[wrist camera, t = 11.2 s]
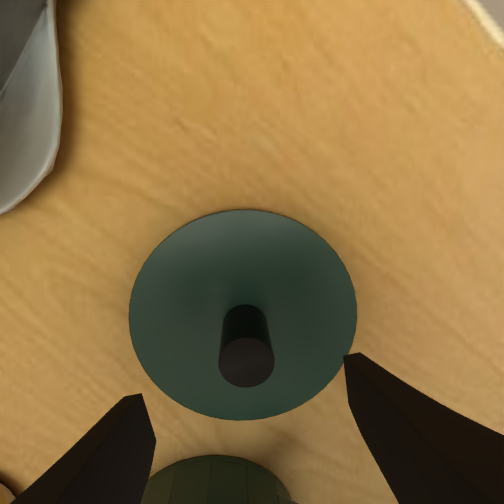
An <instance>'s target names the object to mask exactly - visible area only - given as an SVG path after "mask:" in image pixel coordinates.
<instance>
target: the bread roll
mask: <svg viewBox="0 0 504 504" xmlns="http://www.w3.org/2000/svg"><path fill="white" fill-rule="evenodd" d="M14 499H16V497H15V496H14V495H13V494H12V493H11V491H10V490H9V489H8V488H7V487H5V486H4V485H3V484H1V483H0V504H10V503H11V502H12V501H13V500H14Z"/></svg>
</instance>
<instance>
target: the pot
mask: <svg viewBox="0 0 504 504" xmlns="http://www.w3.org/2000/svg"><path fill="white" fill-rule="evenodd" d="M141 504H298V503H296V502H294V501H292V499H291V497H290V495H289V493H288V491H287V490H286V488H285V487H284V485H283V484H282V483H281V482H280V481H279V480H278V478H277V477H275V476H274V475H273V474H272V473H271V472H269V471H268V470H266V469H264V468H263V467H261V466H259V465H257V464H255V463H253V462H250V461H247V460H244V459H241V458H235V457H230V456H219V455H216V456H201V457H194V458H190V459H186V460H183V461H180V462H177V463H175V464H172V465H170V466H168V467H166V468H164V469H163V470H161V471H160V472H158V473H157V474H155V475H154V476H153V477H152V478H151V479H150V480H148V482H147V485H146V488H145V491H144V495H143V498H142V501H141Z"/></svg>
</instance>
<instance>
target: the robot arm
mask: <svg viewBox="0 0 504 504" xmlns="http://www.w3.org/2000/svg"><path fill="white" fill-rule="evenodd" d="M343 360H344V369H345V377H346V386H347V394H348V403H349V406H350V409H351V411H352V414H353V416H354V419H355V421H356V423H357V426H358V428H359V430H360V433H361V435H362V437H363V439H364V441H365V442H366V444H367V446H368V448H369V450H370V452H371V453H372V455H373V457H374V459H375V461H376V463H377V464H378V466H379V468H380V470H381V472H382V473H383V475H384V477H385V479H386V481H387V483H388V484H389V486H390V488H391V490H392V492H393V493H394V495H395V497H396V499H397V501H398V503H399V504H504V435H502V434H500V433H498V432H495V431H493V430H491V429H489V428H487V427H485V426H483V425H481V424H479V423H477V422H475V421H473V420H471V419H469V418H467V417H465V416H463V415H461V414H459V413H457V412H455V411H453V410H451V409H449V408H447V407H446V406H444V405H442V404H440V403H439V402H437V401H435V400H433V399H432V398H430V397H428V396H426V395H425V394H423V393H421V392H420V391H418V390H416V389H415V388H413V387H411V386H410V385H408V384H407V383H405V382H404V381H402V380H400V379H399V378H397V377H396V376H394V375H393V374H391V373H390V372H388V371H387V370H385V369H384V368H382V367H381V366H379V365H378V364H376V363H375V362H374V361H372V360H371V359H369V358H368V357H366V356H365V355H363V354H362V353H360V352H359V353H354V354H349V355H343ZM155 445H156V438H155V435H154V431H153V428H152V425H151V422H150V419H149V415H148V412H147V409H146V406H145V403H144V399H143V396H142V393H140V394H135V395H130V396H125V397H123V398H122V399H121V400H120V401H119V402H118V403H117V404H116V405H115V406H114V407H112V408H111V409H110V410H109V411H108V412H107V413H106V414H105V415H104V416H103V417H102V418H101V419H100V420H99V421H98V422H97V423H96V424H95V425H94V426H93V427H92V428H91V429H90V430H89V431H88V432H87V433H86V434H85V435H84V436H83V437H82V438H81V439H80V440H79V441H78V442H77V443H76V444H75V445H74V446H73V447H72V448H71V449H70V450H69V451H68V452H67V453H65V454H64V455H63V456H62V457H61V458H60V459H59V460H58V461H57V462H56V463H55V464H54V465H52V466H51V467H50V468H49V469H48V470H47V471H46V472H45V473H44V474H43V475H42V476H41V477H40V478H38V479H37V480H36V481H35V482H34V483H33V484H32V485H31V486H30V487H28V488H27V489H26V490H25V491H24V492H23V493H21V494H20V495H19V496H18V497H17V498H16V499H14V500H13V501H12V502H11V503H10V504H141V501H142V498H143V495H144V491H145V488H146V485H147V482H148V478H149V475H150V471H151V466H152V461H153V456H154V451H155Z"/></svg>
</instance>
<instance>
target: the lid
mask: <svg viewBox="0 0 504 504" xmlns="http://www.w3.org/2000/svg"><path fill="white" fill-rule="evenodd" d="M356 322H357V303H356V297H355V291H354V288H353V285H352V281H351V278H350V276H349V274H348V272H347V270H346V268H345V266H344V264H343V262H342V261H341V259H340V258H339V256H338V255H337V253H336V252H335V251H334V250H333V249H332V248H331V246H330V245H329V244H328V243H327V242H326V241H325V240H324V239H323V238H321V237H320V236H319V235H318V234H317V233H315V232H314V231H313V230H311V229H309V228H308V227H306V226H304V225H303V224H301V223H299V222H297V221H295V220H293V219H291V218H288V217H286V216H283V215H280V214H276V213H273V212H269V211H262V210H255V209H235V210H226V211H220V212H217V213H213V214H209V215H206V216H203V217H201V218H198V219H196V220H193V221H191V222H189V223H188V224H186V225H184V226H182V227H181V228H179V229H177V230H176V231H175V232H173V233H172V234H171V235H170V236H168V237H167V238H166V239H164V240H163V241H162V242H161V243H160V244H159V245H158V246H157V247H156V248H155V250H154V251H153V252H152V253H151V255H150V256H149V257H148V259H147V260H146V261H145V263H144V265H143V267H142V268H141V270H140V272H139V274H138V276H137V279H136V281H135V284H134V287H133V289H132V294H131V299H130V304H129V328H130V335H131V339H132V344H133V347H134V350H135V352H136V355H137V357H138V359H139V361H140V363H141V365H142V367H143V368H144V370H145V372H146V373H147V374H148V376H149V377H150V378H151V380H152V381H153V382H154V383H155V384H156V385H157V386H158V387H159V388H160V389H161V390H162V391H163V392H164V393H165V394H167V395H168V396H169V397H170V398H172V399H173V400H174V401H176V402H178V403H179V404H181V405H183V406H184V407H186V408H188V409H191V410H193V411H195V412H197V413H200V414H203V415H206V416H209V417H214V418H219V419H225V420H236V421H240V420H256V419H264V418H268V417H272V416H276V415H279V414H282V413H285V412H287V411H290V410H292V409H294V408H296V407H298V406H300V405H302V404H304V403H305V402H307V401H308V400H310V399H311V398H313V397H314V396H315V395H316V394H318V393H319V392H320V391H321V390H323V389H324V388H325V387H326V386H327V384H328V383H329V382H330V381H331V380H332V379H333V378H334V377H335V375H336V374H337V373H338V371H339V370H340V368H341V367H342V365H343V363H344V360H343V355H348V353H349V351H350V348H351V346H352V343H353V339H354V335H355V331H356Z"/></svg>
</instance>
